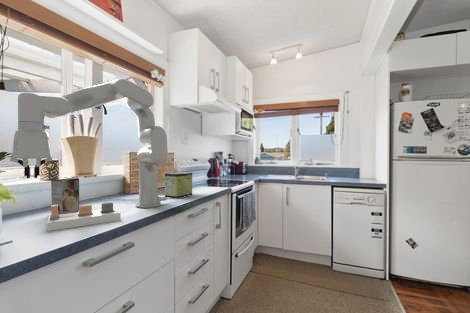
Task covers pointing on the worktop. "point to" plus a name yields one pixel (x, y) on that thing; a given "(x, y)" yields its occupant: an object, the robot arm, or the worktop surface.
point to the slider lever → (54, 212)
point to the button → (107, 207)
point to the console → (82, 219)
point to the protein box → (178, 184)
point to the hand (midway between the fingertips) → (32, 177)
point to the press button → (85, 210)
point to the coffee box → (65, 194)
